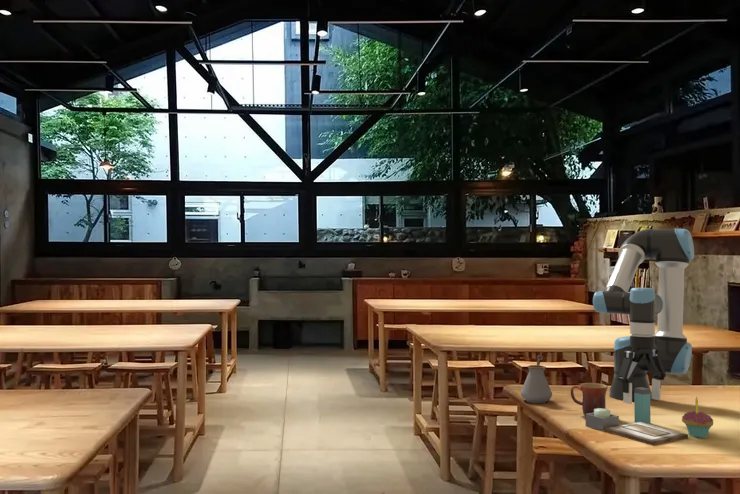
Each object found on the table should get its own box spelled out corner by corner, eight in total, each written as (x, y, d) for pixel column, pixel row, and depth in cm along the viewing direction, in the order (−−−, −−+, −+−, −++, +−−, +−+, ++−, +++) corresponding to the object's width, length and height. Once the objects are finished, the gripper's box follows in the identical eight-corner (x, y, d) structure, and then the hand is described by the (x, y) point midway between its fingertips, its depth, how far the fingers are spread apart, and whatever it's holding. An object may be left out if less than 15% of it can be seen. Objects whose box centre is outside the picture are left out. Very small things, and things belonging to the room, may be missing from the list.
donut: (712, 441, 191) (711, 399, 191) (680, 436, 195) (679, 396, 195) (714, 434, 198) (714, 394, 198) (683, 430, 202) (683, 391, 203)
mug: (609, 414, 222) (609, 384, 222) (605, 420, 214) (605, 389, 214) (573, 410, 228) (573, 381, 228) (568, 416, 220) (568, 385, 220)
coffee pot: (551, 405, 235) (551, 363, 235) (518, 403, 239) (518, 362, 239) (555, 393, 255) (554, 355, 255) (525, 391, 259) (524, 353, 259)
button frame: (601, 423, 211) (601, 411, 211) (618, 428, 204) (618, 416, 204) (585, 425, 207) (585, 413, 207) (603, 431, 201) (603, 418, 201)
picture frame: (640, 424, 209) (640, 420, 209) (688, 437, 194) (688, 433, 194) (604, 431, 201) (604, 426, 201) (651, 445, 186) (651, 440, 186)
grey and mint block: (641, 420, 214) (641, 387, 214) (650, 423, 211) (650, 389, 211) (634, 422, 212) (634, 388, 212) (643, 424, 209) (643, 390, 209)
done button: (601, 418, 209) (601, 407, 209) (613, 422, 205) (613, 410, 205) (590, 420, 207) (590, 409, 207) (602, 423, 203) (602, 412, 203)
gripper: (657, 332, 221) (657, 395, 220) (605, 335, 209) (605, 402, 209) (677, 335, 214) (677, 400, 214) (625, 338, 203) (624, 407, 202)
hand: (642, 401), depth 211 cm, fingers open, 13 cm apart
